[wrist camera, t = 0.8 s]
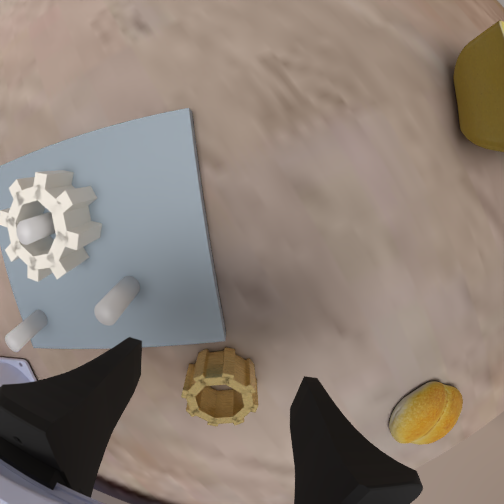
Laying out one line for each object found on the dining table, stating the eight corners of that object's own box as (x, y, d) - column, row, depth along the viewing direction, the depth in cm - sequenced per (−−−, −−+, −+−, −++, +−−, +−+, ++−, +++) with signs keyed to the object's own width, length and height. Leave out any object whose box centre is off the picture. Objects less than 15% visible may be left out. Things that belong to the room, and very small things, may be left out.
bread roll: (417, 372, 25) (436, 396, 21) (463, 386, 26) (480, 405, 23) (370, 430, 27) (381, 456, 23) (421, 436, 28) (433, 458, 24)
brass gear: (196, 400, 25) (192, 427, 21) (182, 350, 23) (174, 376, 20) (259, 395, 25) (261, 422, 21) (251, 344, 23) (252, 370, 20)
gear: (39, 269, 20) (14, 284, 17) (21, 184, 18) (-7, 188, 15) (109, 259, 20) (88, 275, 17) (92, 161, 18) (66, 161, 15)
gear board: (40, 341, 23) (8, 374, 17) (-4, 170, 19) (-49, 176, 13) (226, 332, 23) (222, 379, 17) (191, 111, 19) (173, 90, 13)
